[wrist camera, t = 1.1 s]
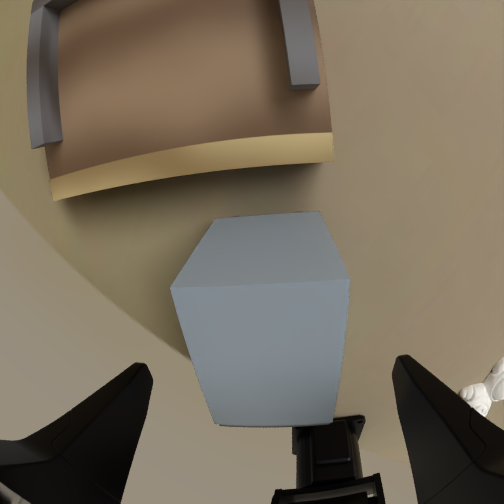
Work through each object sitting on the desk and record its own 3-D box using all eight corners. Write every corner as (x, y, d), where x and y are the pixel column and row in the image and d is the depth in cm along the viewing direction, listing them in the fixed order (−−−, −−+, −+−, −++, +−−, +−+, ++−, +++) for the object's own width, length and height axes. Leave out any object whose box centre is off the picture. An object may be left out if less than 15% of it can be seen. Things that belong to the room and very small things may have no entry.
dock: (324, 156, 13) (341, 166, 10) (80, 189, 15) (37, 208, 11) (288, -65, 8) (289, -104, 4) (69, -4, 9) (31, -18, 6)
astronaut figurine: (428, 407, 21) (436, 430, 18) (520, 336, 17) (535, 355, 14) (445, 429, 23) (452, 448, 21) (523, 372, 19) (533, 388, 17)
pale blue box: (317, 329, 17) (330, 431, 10) (238, 332, 18) (218, 432, 11) (317, 206, 14) (350, 278, 7) (219, 213, 15) (169, 287, 8)
